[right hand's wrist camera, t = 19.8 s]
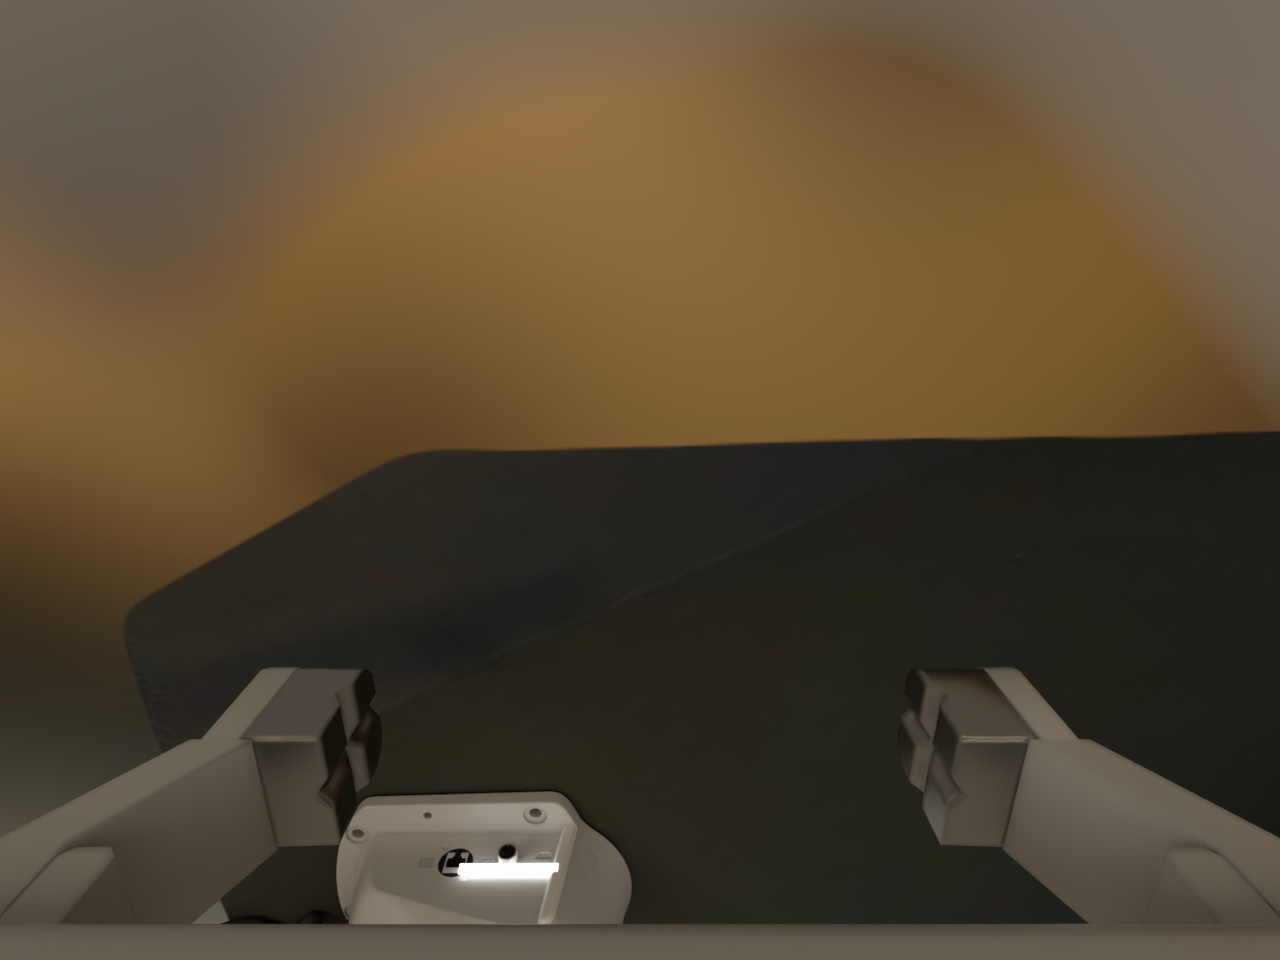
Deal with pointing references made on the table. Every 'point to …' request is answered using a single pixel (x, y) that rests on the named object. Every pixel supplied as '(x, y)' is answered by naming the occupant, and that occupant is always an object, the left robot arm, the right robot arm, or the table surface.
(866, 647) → the table surface
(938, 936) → the right robot arm
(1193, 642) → the table surface
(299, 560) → the table surface
